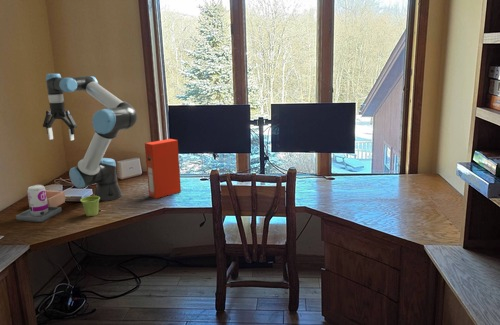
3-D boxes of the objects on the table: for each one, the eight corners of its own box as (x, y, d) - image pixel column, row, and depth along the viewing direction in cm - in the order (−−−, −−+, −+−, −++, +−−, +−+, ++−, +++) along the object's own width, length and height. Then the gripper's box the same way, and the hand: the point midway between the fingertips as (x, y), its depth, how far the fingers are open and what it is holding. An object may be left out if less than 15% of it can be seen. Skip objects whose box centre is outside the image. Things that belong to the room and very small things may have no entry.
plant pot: (90, 219, 206) (88, 203, 204) (78, 215, 211) (76, 199, 208) (105, 213, 213) (103, 197, 211) (93, 210, 218) (92, 194, 216)
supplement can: (52, 212, 213) (48, 185, 210) (39, 218, 206) (35, 190, 202) (40, 210, 216) (36, 183, 212) (27, 216, 209) (23, 188, 205)
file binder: (148, 195, 240) (144, 142, 232) (173, 189, 251) (170, 138, 243) (156, 199, 234) (152, 144, 226) (180, 192, 246) (177, 140, 238)
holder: (65, 201, 232) (64, 191, 230) (50, 209, 219) (48, 199, 218) (46, 200, 234) (44, 190, 233) (29, 208, 222) (27, 197, 221)
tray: (61, 211, 217) (61, 207, 216) (42, 222, 202) (41, 217, 202) (37, 209, 220) (37, 205, 219) (16, 220, 206) (15, 215, 205)
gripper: (80, 101, 225) (85, 139, 230) (42, 101, 230) (47, 137, 236) (72, 103, 218) (76, 141, 223) (32, 102, 223) (37, 140, 229)
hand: (61, 139), depth 230 cm, fingers open, 13 cm apart
